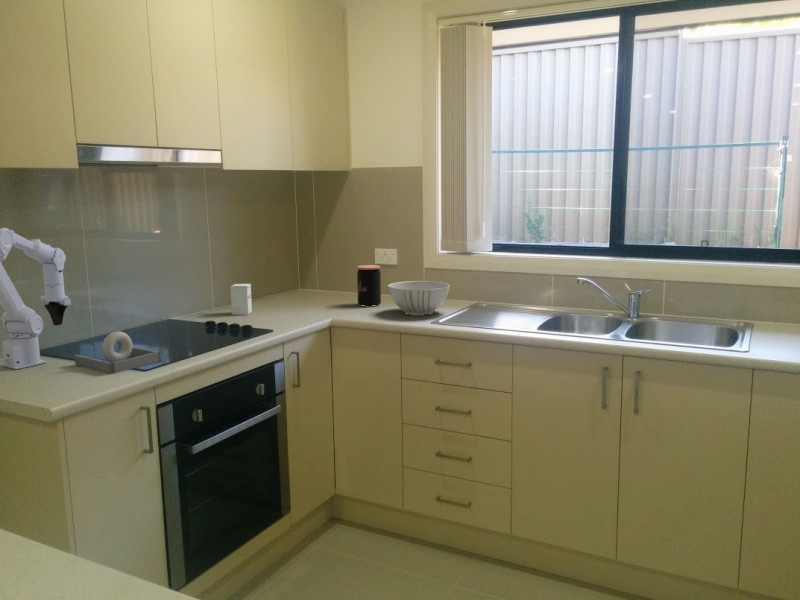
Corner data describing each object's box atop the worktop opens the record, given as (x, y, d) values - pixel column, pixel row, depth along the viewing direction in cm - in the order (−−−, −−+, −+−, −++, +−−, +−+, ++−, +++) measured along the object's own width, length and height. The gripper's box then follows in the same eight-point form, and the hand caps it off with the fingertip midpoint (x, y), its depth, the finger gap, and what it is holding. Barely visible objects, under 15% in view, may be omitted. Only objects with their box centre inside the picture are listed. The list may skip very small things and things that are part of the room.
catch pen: (111, 373, 196) (111, 363, 196) (75, 364, 207) (74, 355, 206) (160, 361, 210) (160, 351, 210) (124, 353, 220) (123, 344, 220)
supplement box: (248, 315, 287) (247, 285, 285) (231, 315, 287) (229, 286, 285) (252, 311, 294) (251, 283, 292) (235, 311, 294) (234, 283, 292)
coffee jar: (355, 303, 313) (354, 265, 310) (377, 302, 316) (376, 264, 313) (361, 307, 303) (360, 268, 300) (383, 306, 306) (383, 267, 303)
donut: (129, 358, 214) (126, 328, 212) (135, 360, 212) (133, 329, 210) (100, 365, 206) (97, 333, 204) (107, 367, 204) (104, 335, 202)
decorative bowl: (416, 321, 270) (416, 292, 268) (375, 312, 290) (374, 285, 288) (462, 313, 287) (462, 285, 285) (420, 305, 307) (420, 279, 305)
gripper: (78, 284, 218) (81, 325, 220) (53, 281, 226) (57, 320, 228) (57, 286, 212) (61, 328, 214) (32, 283, 220) (36, 324, 222)
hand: (57, 324), depth 221 cm, fingers closed
